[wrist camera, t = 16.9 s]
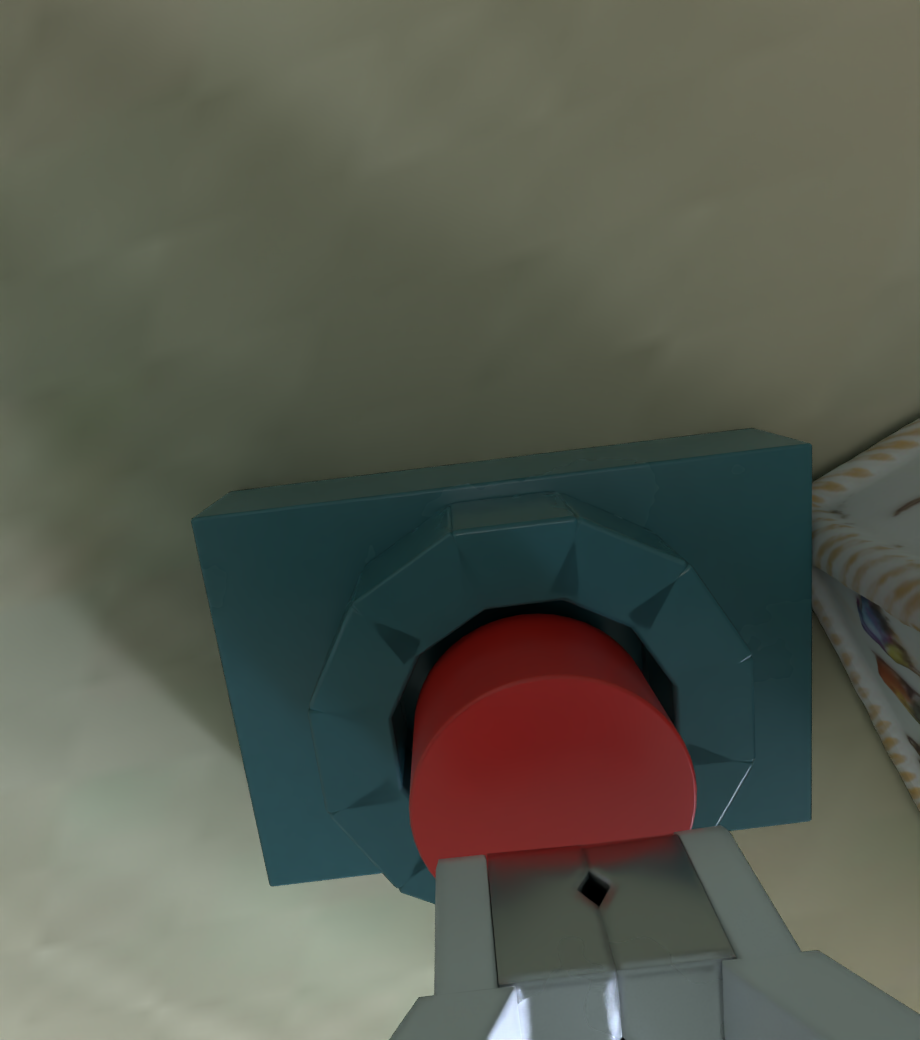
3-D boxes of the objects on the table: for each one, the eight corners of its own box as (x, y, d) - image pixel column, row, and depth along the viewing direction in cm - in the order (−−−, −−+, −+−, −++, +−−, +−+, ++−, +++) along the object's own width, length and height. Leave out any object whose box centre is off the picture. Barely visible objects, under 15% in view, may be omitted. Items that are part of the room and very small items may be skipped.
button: (430, 839, 11) (429, 945, 9) (398, 627, 10) (389, 694, 8) (656, 812, 11) (703, 912, 9) (644, 598, 10) (692, 658, 8)
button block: (292, 811, 15) (243, 972, 11) (228, 491, 14) (143, 550, 10) (760, 754, 15) (870, 896, 11) (754, 426, 14) (881, 461, 10)
